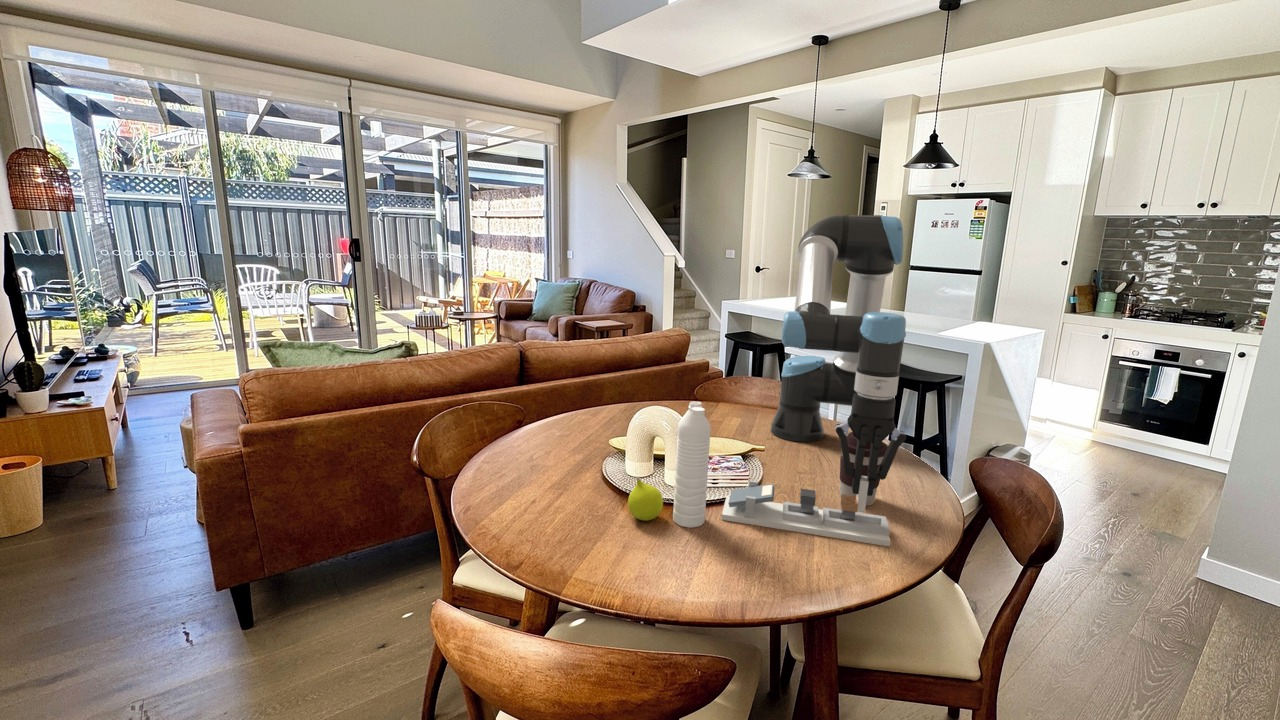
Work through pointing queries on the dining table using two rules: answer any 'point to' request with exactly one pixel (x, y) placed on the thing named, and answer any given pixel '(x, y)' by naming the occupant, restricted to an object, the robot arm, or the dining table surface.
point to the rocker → (752, 495)
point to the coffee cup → (847, 479)
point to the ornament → (645, 501)
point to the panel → (809, 520)
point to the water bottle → (691, 467)
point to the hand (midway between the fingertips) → (859, 508)
